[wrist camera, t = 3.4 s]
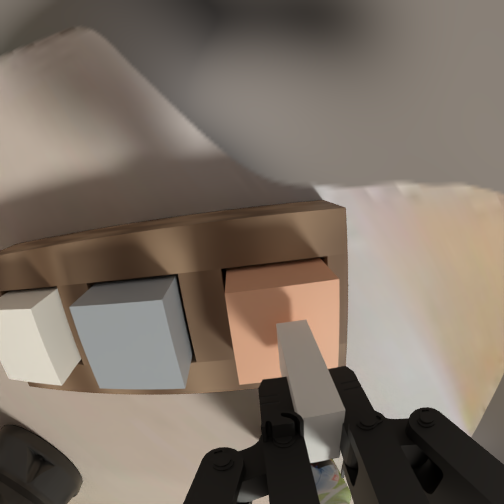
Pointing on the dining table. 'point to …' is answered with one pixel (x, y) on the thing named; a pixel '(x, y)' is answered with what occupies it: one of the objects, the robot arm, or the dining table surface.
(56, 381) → the offwhite key
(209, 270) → the console
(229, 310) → the terracotta key
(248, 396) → the dining table surface
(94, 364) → the slate key
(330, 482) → the beverage can
